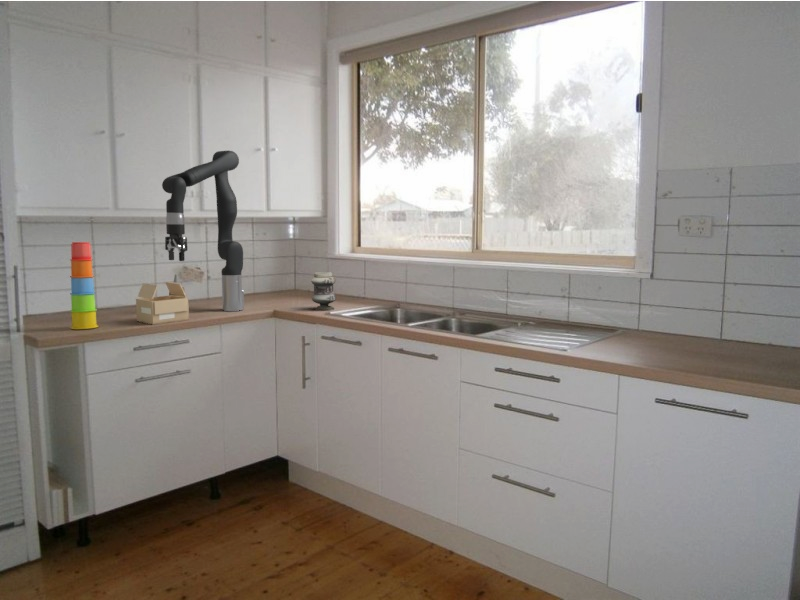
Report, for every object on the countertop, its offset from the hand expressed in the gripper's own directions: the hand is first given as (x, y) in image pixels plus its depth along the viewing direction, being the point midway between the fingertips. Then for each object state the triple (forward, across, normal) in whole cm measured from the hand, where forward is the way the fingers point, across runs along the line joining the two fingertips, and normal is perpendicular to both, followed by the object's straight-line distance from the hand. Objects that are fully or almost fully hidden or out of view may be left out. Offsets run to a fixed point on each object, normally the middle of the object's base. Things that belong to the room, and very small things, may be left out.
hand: (176, 260), depth 281 cm
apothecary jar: (+25, -27, -62) cm, 73 cm away
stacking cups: (+26, +5, +39) cm, 47 cm away
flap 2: (+16, -2, 0) cm, 16 cm away
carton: (+26, -2, +8) cm, 27 cm away
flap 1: (+16, -2, +16) cm, 23 cm away
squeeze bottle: (+26, +15, -8) cm, 31 cm away
